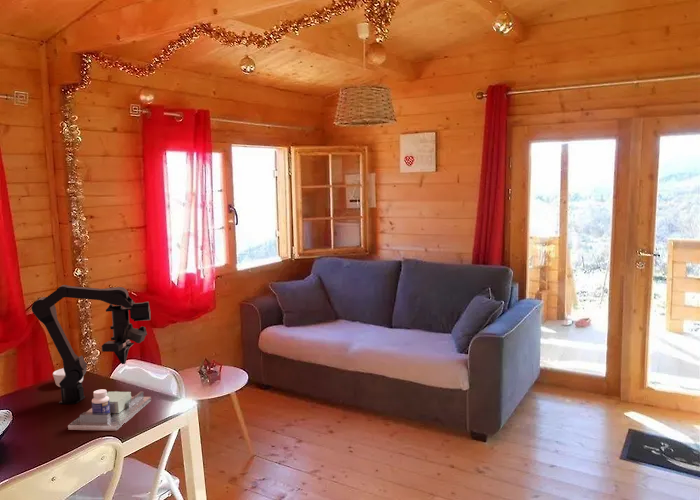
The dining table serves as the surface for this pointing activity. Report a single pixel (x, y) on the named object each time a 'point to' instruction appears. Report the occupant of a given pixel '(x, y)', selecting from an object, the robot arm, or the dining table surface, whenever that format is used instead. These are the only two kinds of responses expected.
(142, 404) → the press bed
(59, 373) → the ramekin
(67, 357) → the robot arm
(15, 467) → the dining table surface
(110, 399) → the block
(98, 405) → the pill bottle
